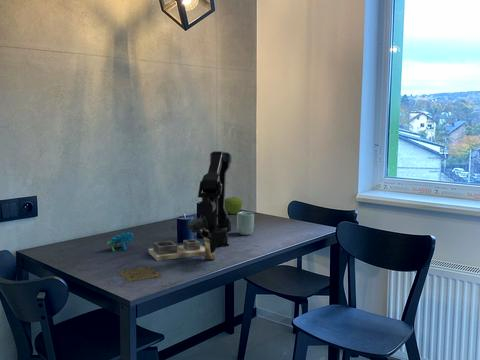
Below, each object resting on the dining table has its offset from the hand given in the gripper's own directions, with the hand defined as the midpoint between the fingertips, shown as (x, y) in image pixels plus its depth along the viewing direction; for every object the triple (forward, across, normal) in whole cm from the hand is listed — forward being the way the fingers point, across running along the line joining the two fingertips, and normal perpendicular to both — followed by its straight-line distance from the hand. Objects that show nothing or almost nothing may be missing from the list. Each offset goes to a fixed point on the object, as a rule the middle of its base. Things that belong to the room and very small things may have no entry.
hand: (209, 251), depth 184 cm
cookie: (+4, +7, -29) cm, 30 cm away
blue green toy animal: (+3, -28, -28) cm, 40 cm away
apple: (+3, -78, +47) cm, 91 cm away
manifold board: (+3, -12, -8) cm, 15 cm away
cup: (+3, -31, +31) cm, 44 cm away
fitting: (+2, 0, 0) cm, 2 cm away
